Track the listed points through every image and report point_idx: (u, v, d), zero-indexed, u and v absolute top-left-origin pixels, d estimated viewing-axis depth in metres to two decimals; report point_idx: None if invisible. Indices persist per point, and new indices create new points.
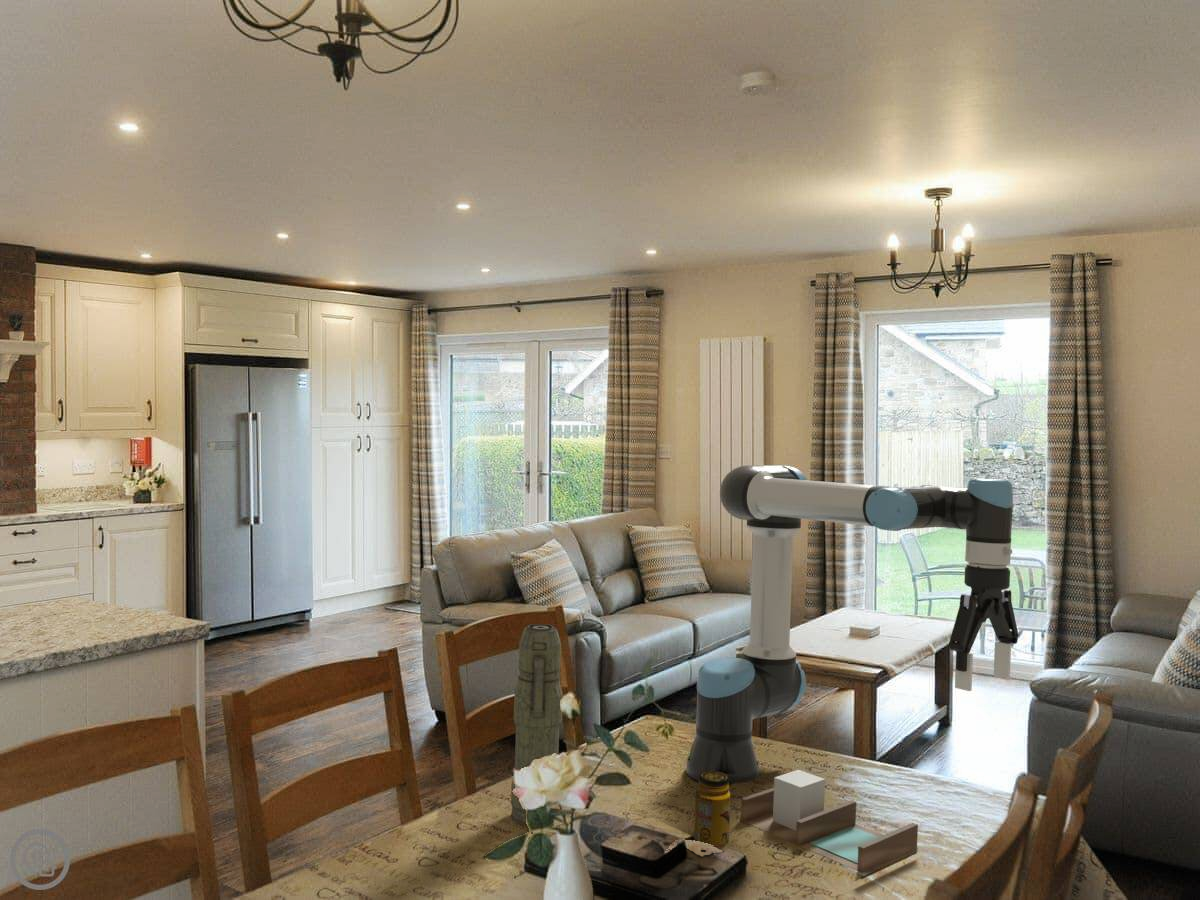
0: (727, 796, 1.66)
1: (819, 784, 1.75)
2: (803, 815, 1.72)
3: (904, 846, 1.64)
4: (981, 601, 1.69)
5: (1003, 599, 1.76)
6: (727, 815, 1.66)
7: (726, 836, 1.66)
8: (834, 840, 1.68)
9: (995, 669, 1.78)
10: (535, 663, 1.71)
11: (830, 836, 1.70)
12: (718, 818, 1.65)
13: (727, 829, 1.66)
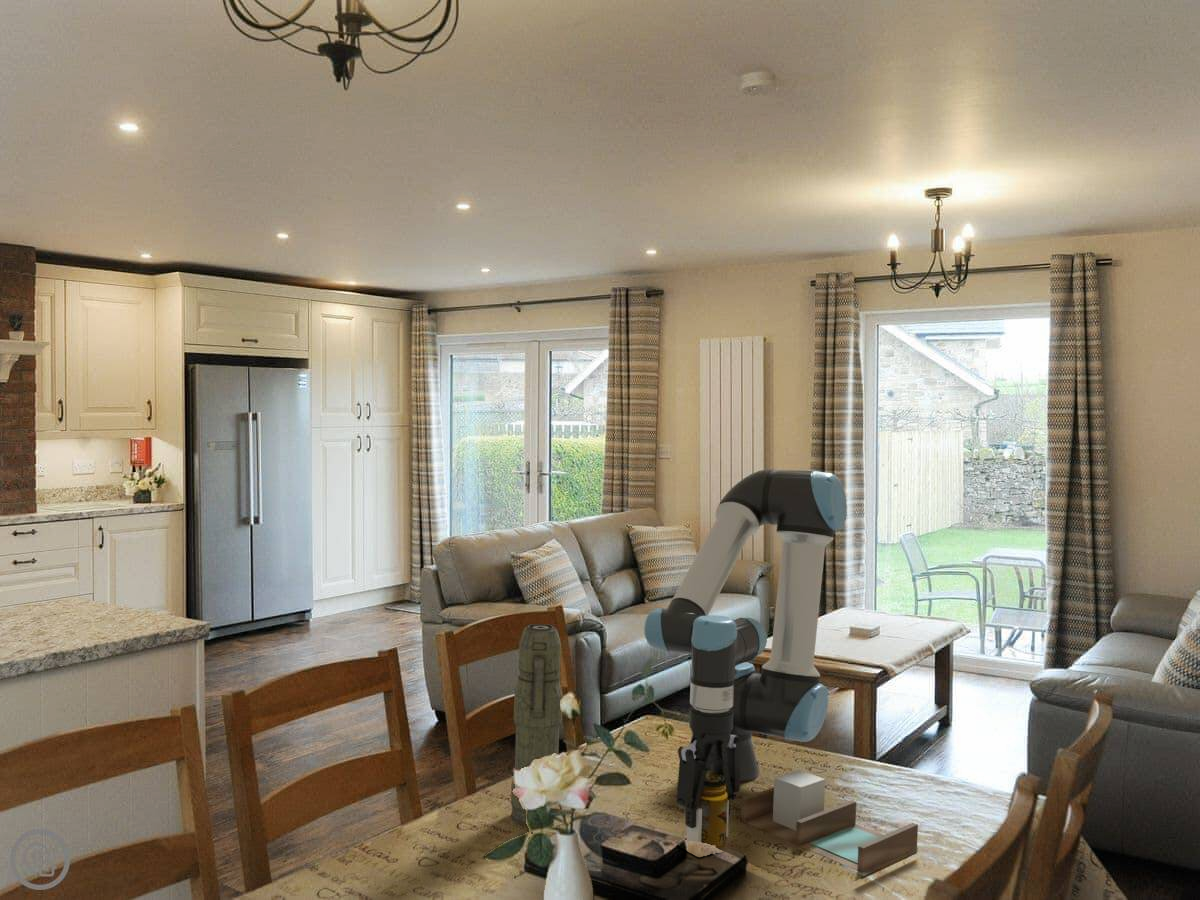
0: (724, 797, 1.65)
1: (819, 784, 1.75)
2: (803, 815, 1.72)
3: (904, 846, 1.64)
4: (700, 748, 1.64)
5: (731, 744, 1.70)
6: (724, 816, 1.65)
7: (723, 837, 1.65)
8: (834, 840, 1.68)
9: None
10: (535, 663, 1.71)
11: (830, 836, 1.70)
12: (715, 819, 1.64)
13: (725, 830, 1.66)
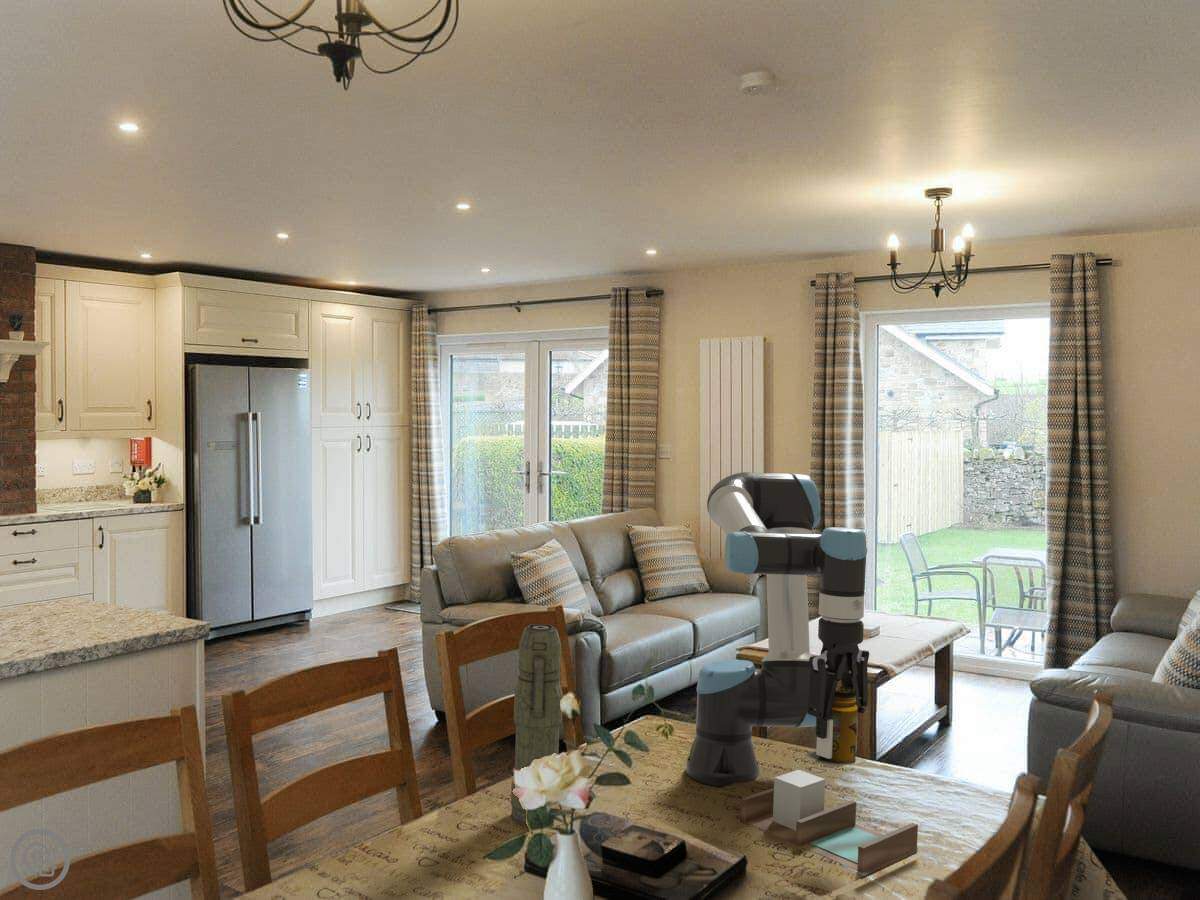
0: (855, 708, 1.64)
1: (819, 784, 1.75)
2: (803, 815, 1.72)
3: (904, 846, 1.64)
4: (831, 658, 1.63)
5: (859, 658, 1.68)
6: (855, 728, 1.64)
7: (854, 749, 1.64)
8: (834, 840, 1.68)
9: None
10: (535, 663, 1.71)
11: (830, 836, 1.70)
12: (846, 730, 1.63)
13: (855, 742, 1.64)
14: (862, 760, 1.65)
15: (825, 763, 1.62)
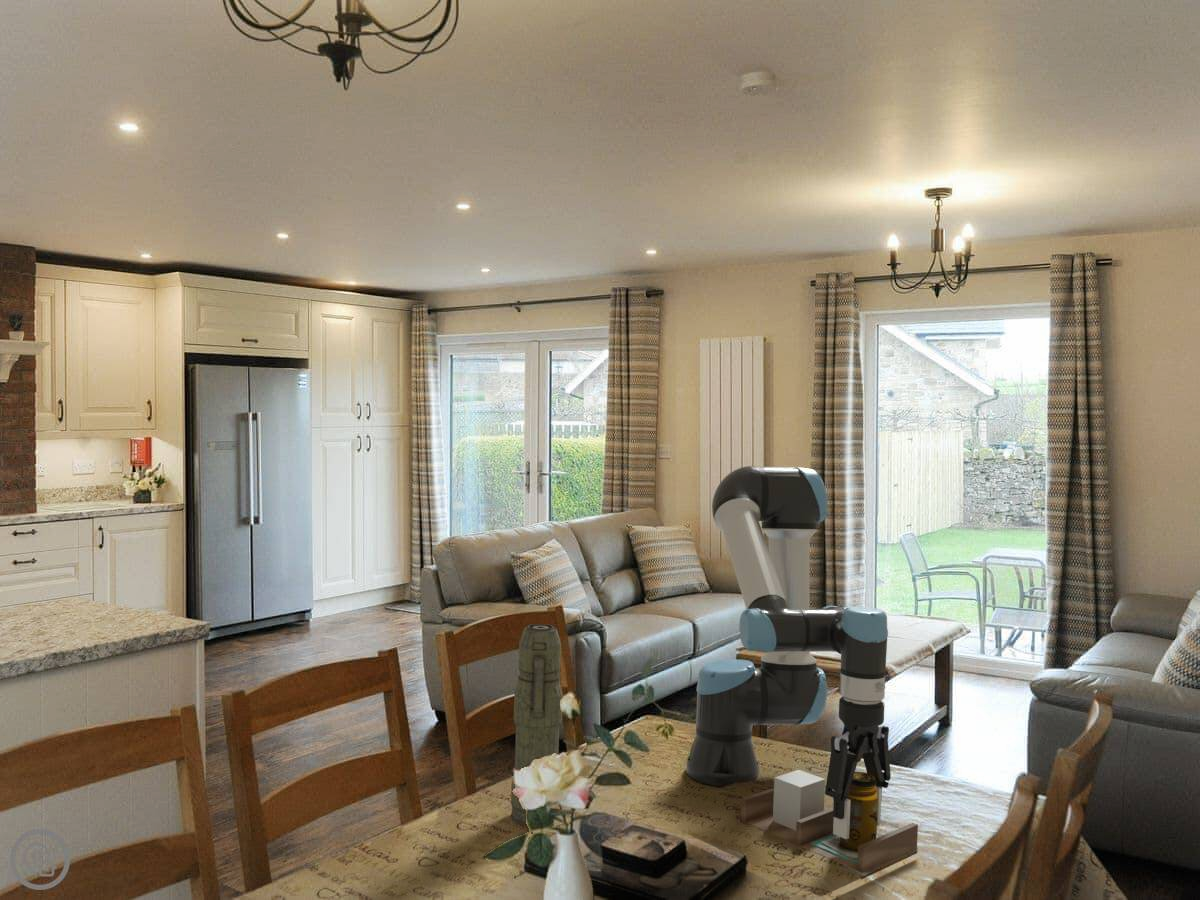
0: (875, 797, 1.64)
1: (819, 784, 1.75)
2: (803, 815, 1.72)
3: (904, 846, 1.64)
4: (853, 739, 1.63)
5: (879, 735, 1.69)
6: (875, 816, 1.64)
7: (874, 837, 1.64)
8: None
9: None
10: (535, 663, 1.71)
11: (830, 836, 1.70)
12: (867, 819, 1.63)
13: (876, 830, 1.65)
14: None
15: (847, 852, 1.63)
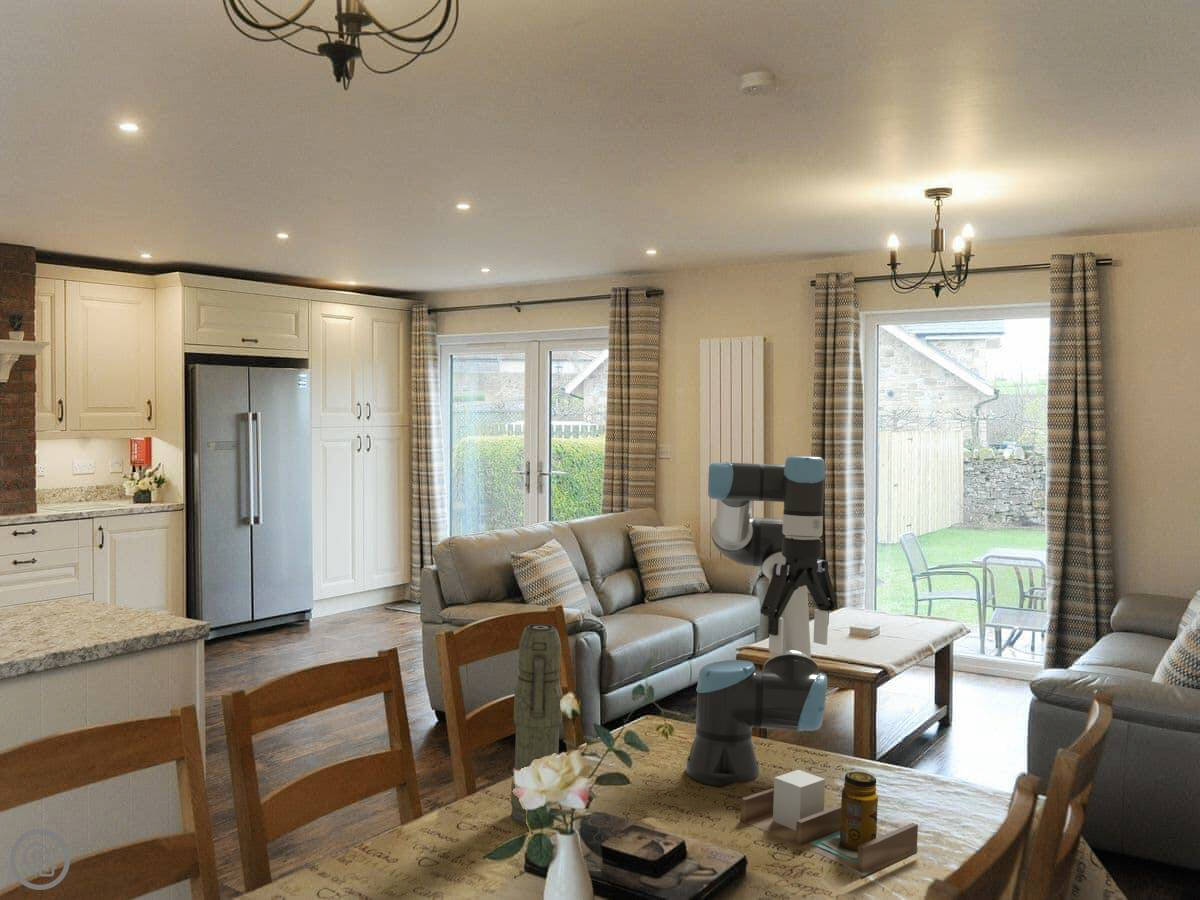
0: (875, 797, 1.64)
1: (819, 784, 1.75)
2: (803, 815, 1.72)
3: (904, 846, 1.64)
4: (793, 570, 1.82)
5: (820, 569, 1.88)
6: (875, 816, 1.64)
7: (874, 837, 1.64)
8: None
9: (814, 635, 1.90)
10: (535, 663, 1.71)
11: (830, 836, 1.70)
12: (867, 819, 1.63)
13: (876, 830, 1.65)
14: None
15: (847, 852, 1.63)
